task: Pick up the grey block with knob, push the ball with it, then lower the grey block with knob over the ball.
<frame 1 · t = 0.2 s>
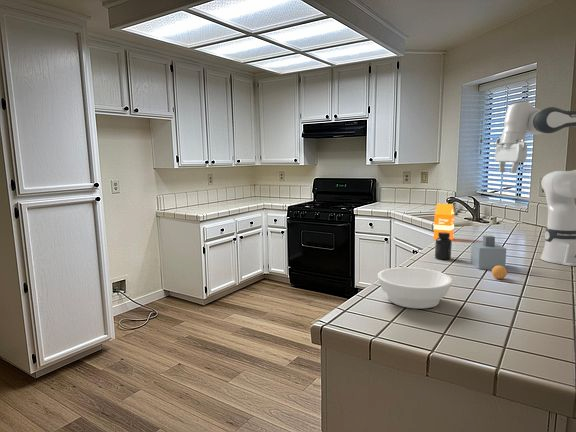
hand: (507, 172, 171), 39 cm above the counter, tool pointing down, fingers open, 8 cm apart
supplement bottle: (442, 259, 180), on the counter
orange juice: (443, 239, 223), on the counter
bowl: (413, 302, 126), on the counter
grey block with knob: (487, 266, 166), on the counter
ball: (499, 272, 148), on the counter
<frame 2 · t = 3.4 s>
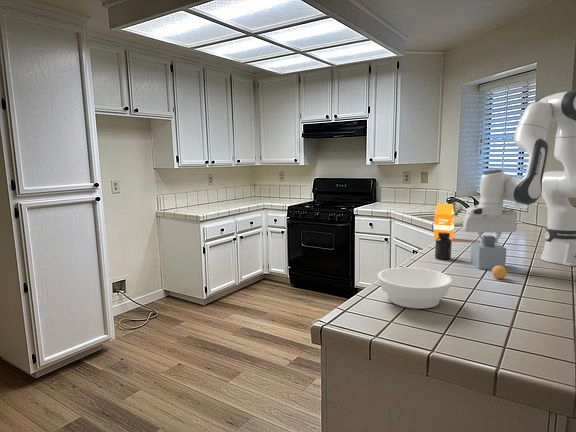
hand: (488, 242, 165), 10 cm above the counter, tool pointing down, fingers closed on grey block with knob, 3 cm apart
grey block with knob: (487, 266, 166), on the counter, touching gripper
everything else where it was.
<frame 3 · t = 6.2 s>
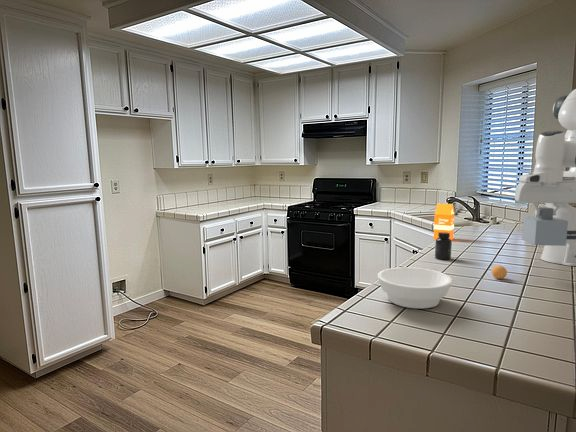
hand: (545, 215, 144), 24 cm above the counter, tool pointing down, fingers closed on grey block with knob, 3 cm apart
grey block with knob: (543, 242, 145), point 14 cm above the counter, touching gripper
everything else where it was.
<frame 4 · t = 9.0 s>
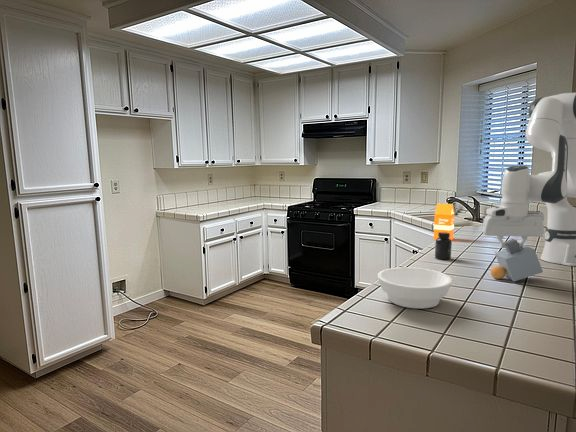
hand: (511, 247, 146), 12 cm above the counter, tool pointing down, fingers closed on grey block with knob, 4 cm apart
grey block with knob: (521, 272, 147), point 3 cm above the counter, tilted 22°, touching ball, gripper
ball: (498, 272, 149), on the counter, touching grey block with knob
everything else where it was.
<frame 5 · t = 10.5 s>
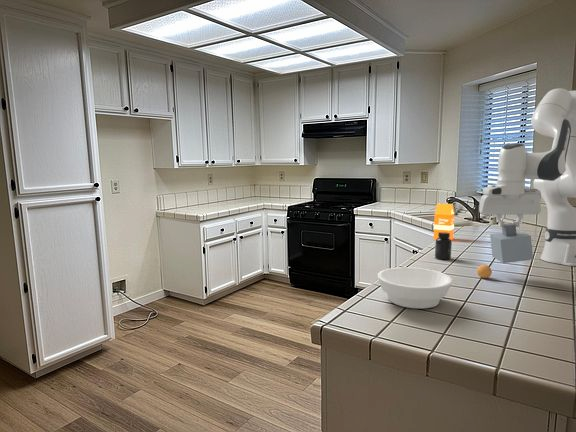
hand: (508, 226, 146), 20 cm above the counter, tool pointing down, fingers closed on grey block with knob, 4 cm apart
grey block with knob: (512, 257, 147), point 8 cm above the counter, tilted 9°, touching gripper
ball: (484, 271, 150), on the counter
everything else where it was.
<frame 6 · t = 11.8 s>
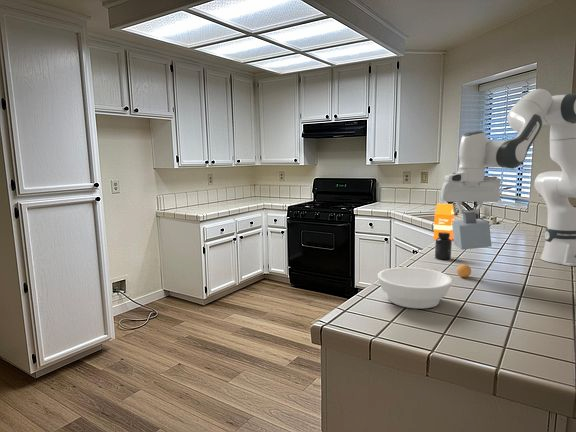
hand: (468, 213, 147), 25 cm above the counter, tool pointing down, fingers closed on grey block with knob, 4 cm apart
grey block with knob: (472, 245, 148), point 13 cm above the counter, tilted 8°, touching gripper
ball: (464, 270, 151), on the counter
everything else where it was.
when the fingers open (11 cm above the counter, at t = 15.8 s): grey block with knob stays where it is, on the counter.
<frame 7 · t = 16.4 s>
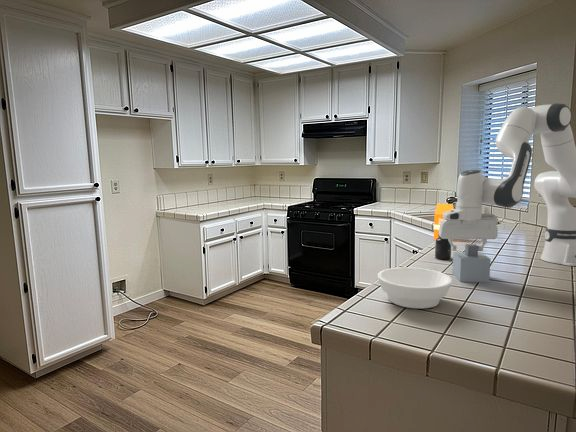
hand: (466, 250, 149), 11 cm above the counter, tool pointing down, fingers open, 8 cm apart
grey block with knob: (470, 278, 150), on the counter
everything else where it was.
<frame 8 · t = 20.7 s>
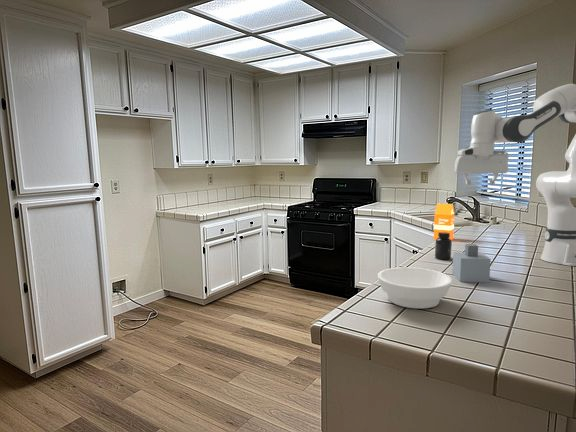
hand: (479, 184, 164), 34 cm above the counter, tool pointing down, fingers open, 8 cm apart
nothing on the counter moved.
at the end: ball 2.2 cm from the grey block with knob (horizontally); grey block with knob on the counter; ball moved 12.4 cm from its start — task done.
